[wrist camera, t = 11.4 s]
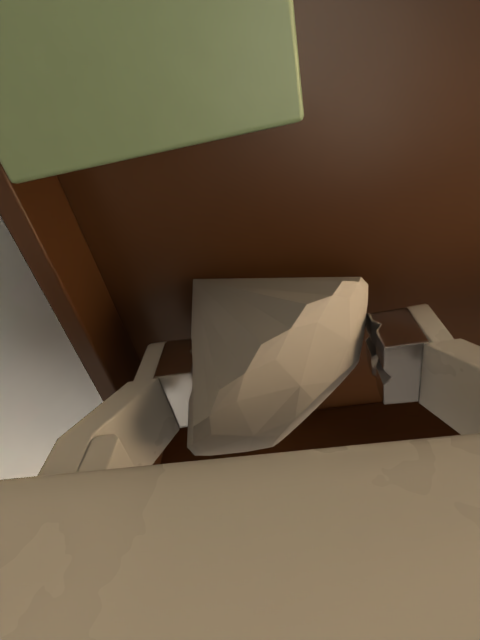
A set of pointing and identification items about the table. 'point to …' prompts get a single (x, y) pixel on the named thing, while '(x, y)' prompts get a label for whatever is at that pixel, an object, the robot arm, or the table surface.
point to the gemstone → (268, 356)
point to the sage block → (139, 78)
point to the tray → (287, 210)
